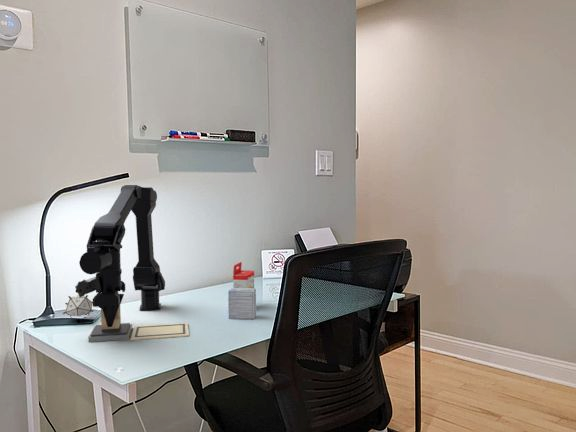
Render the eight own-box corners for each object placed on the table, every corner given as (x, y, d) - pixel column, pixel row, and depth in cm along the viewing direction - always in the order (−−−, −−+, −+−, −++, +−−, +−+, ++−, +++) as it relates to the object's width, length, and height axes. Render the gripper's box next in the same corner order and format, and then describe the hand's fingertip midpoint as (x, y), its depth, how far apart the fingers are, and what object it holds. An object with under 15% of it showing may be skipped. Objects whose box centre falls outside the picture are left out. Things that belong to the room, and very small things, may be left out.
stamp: (103, 326, 135) (103, 305, 135) (120, 325, 136) (120, 304, 136) (101, 331, 131) (100, 309, 130) (118, 330, 132) (118, 308, 131)
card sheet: (134, 327, 140) (134, 325, 140) (187, 323, 144) (187, 322, 144) (130, 340, 129) (130, 338, 129) (188, 336, 132) (188, 334, 132)
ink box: (247, 311, 157) (247, 266, 156) (232, 310, 158) (232, 265, 157) (254, 305, 165) (254, 261, 164) (240, 304, 166) (240, 261, 165)
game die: (75, 334, 146) (52, 312, 141) (78, 317, 153) (57, 295, 148) (101, 319, 146) (80, 296, 141) (103, 303, 153) (83, 280, 149)
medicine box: (256, 315, 152) (256, 288, 152) (254, 319, 148) (253, 291, 147) (231, 315, 153) (231, 287, 152) (228, 319, 149) (227, 290, 148)
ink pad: (94, 330, 137) (94, 324, 137) (132, 328, 139) (131, 322, 139) (88, 342, 127) (88, 335, 127) (128, 339, 130) (128, 332, 130)
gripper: (83, 262, 139) (85, 316, 141) (69, 275, 121) (72, 337, 122) (124, 261, 142) (126, 314, 143) (117, 273, 124) (119, 333, 125)
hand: (111, 324), depth 133 cm, fingers closed on stamp, 4 cm apart
